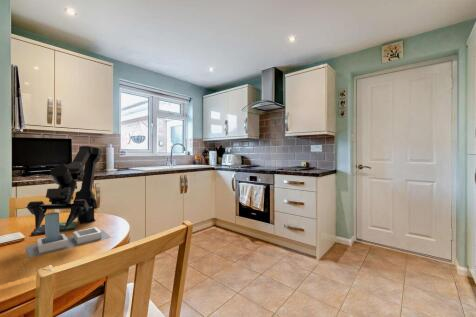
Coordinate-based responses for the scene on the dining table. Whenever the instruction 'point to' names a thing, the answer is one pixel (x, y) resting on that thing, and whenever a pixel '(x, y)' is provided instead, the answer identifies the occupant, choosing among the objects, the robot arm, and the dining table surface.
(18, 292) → the dining table surface
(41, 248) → the grey double socket base
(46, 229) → the plug
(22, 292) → the dining table surface
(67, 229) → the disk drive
